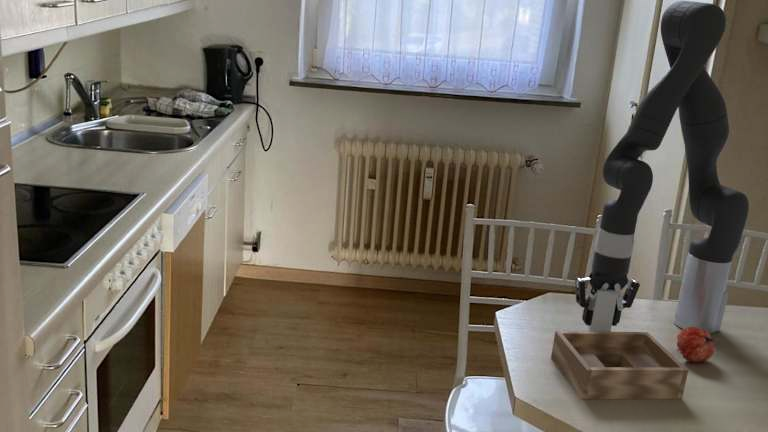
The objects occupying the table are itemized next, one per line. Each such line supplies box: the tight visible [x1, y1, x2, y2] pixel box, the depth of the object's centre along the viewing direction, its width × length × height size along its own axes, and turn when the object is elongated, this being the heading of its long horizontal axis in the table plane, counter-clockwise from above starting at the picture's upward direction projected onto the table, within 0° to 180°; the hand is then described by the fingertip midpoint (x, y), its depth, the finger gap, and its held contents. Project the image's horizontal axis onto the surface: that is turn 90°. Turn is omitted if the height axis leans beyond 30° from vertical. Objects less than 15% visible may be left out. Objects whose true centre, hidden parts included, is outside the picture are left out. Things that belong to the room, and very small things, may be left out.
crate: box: [550, 330, 689, 400], centre depth 151 cm, size 20×16×6 cm
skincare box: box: [586, 290, 618, 332], centre depth 167 cm, size 6×4×12 cm
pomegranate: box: [676, 326, 717, 363], centre depth 162 cm, size 7×7×10 cm
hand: (599, 323), depth 167 cm, fingers closed on skincare box, 5 cm apart
